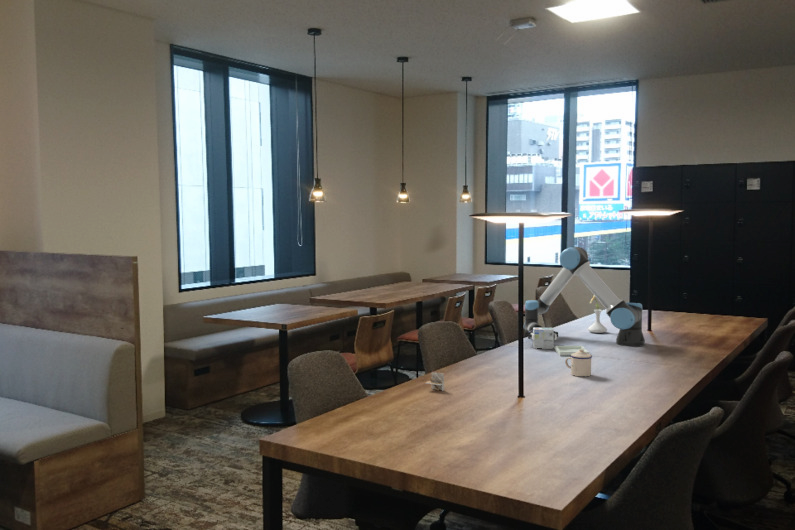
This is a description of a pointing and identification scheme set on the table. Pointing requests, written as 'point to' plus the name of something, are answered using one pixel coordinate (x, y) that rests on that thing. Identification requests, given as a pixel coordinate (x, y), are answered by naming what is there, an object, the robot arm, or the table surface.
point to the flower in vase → (597, 321)
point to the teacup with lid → (580, 363)
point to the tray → (568, 350)
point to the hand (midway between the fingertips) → (544, 337)
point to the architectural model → (437, 381)
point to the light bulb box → (543, 338)
